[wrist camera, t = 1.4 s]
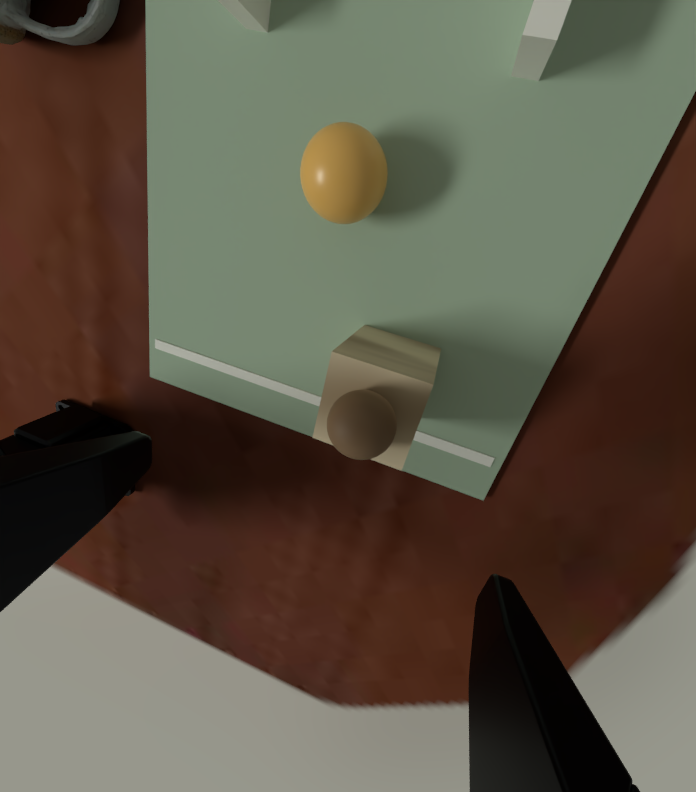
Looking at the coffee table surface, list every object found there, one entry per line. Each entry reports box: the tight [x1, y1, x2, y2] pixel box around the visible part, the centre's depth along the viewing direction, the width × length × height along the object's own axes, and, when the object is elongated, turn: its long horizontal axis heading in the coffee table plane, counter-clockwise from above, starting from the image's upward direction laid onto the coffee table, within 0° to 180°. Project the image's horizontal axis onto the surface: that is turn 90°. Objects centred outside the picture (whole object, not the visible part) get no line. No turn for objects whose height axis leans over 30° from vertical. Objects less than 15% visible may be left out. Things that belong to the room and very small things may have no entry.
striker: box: [312, 325, 441, 471], centre depth 16 cm, size 4×4×8 cm
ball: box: [300, 122, 388, 224], centre depth 15 cm, size 4×4×4 cm
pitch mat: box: [145, 0, 696, 500], centre depth 17 cm, size 26×22×1 cm
